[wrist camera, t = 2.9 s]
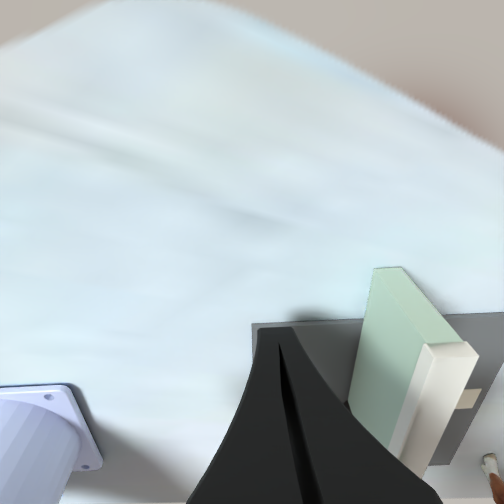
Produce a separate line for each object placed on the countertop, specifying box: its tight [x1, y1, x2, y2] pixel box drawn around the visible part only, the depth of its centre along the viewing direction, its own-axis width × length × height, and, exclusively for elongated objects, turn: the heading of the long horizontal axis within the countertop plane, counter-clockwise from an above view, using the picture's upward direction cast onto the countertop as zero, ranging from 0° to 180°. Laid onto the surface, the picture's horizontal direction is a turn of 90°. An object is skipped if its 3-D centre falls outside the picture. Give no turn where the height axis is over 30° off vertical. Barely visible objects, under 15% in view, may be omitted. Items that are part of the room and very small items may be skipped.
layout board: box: [252, 312, 504, 466], centre depth 19 cm, size 14×14×1 cm
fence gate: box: [348, 268, 479, 479], centre depth 14 cm, size 9×1×5 cm, turn 1°
